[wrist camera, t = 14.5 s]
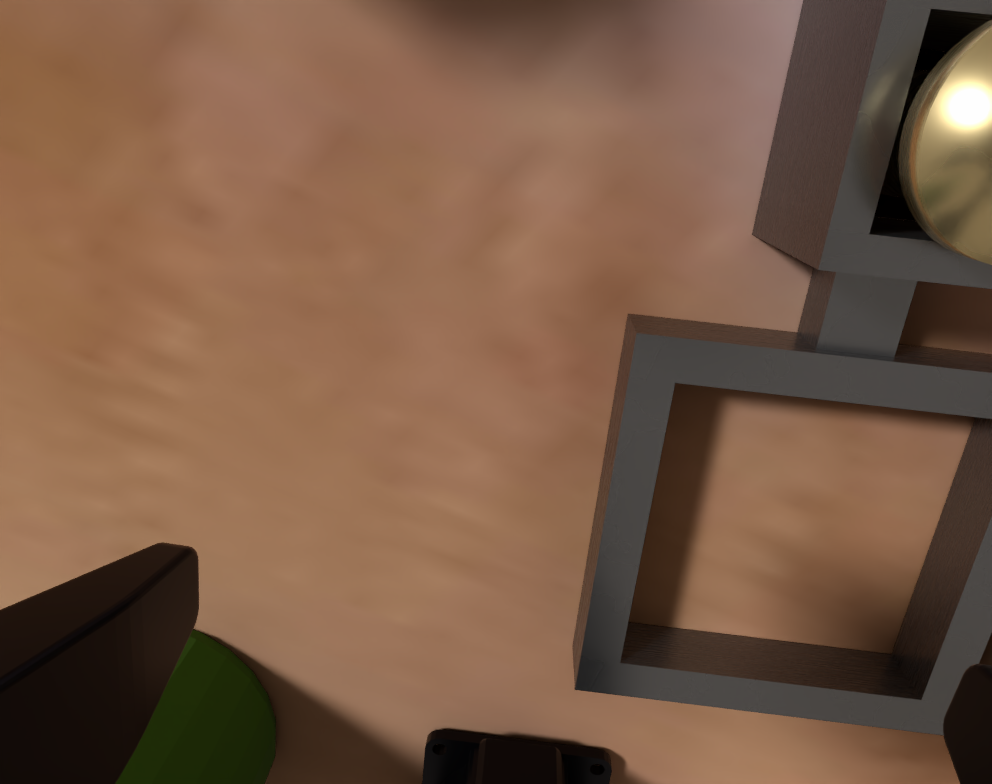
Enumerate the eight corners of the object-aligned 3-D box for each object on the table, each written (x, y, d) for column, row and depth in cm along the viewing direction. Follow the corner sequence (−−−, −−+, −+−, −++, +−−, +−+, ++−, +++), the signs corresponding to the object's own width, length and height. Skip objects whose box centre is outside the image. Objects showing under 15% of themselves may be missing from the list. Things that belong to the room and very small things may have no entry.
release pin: (957, 234, 19) (1135, 282, 13) (785, 215, 19) (888, 255, 13) (1017, 45, 17) (1249, 7, 12) (829, 26, 17) (966, -21, 12)
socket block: (917, 688, 24) (1007, 824, 19) (572, 646, 24) (579, 770, 20) (1165, 35, 17) (1395, 2, 13) (682, -15, 18) (732, -64, 13)
